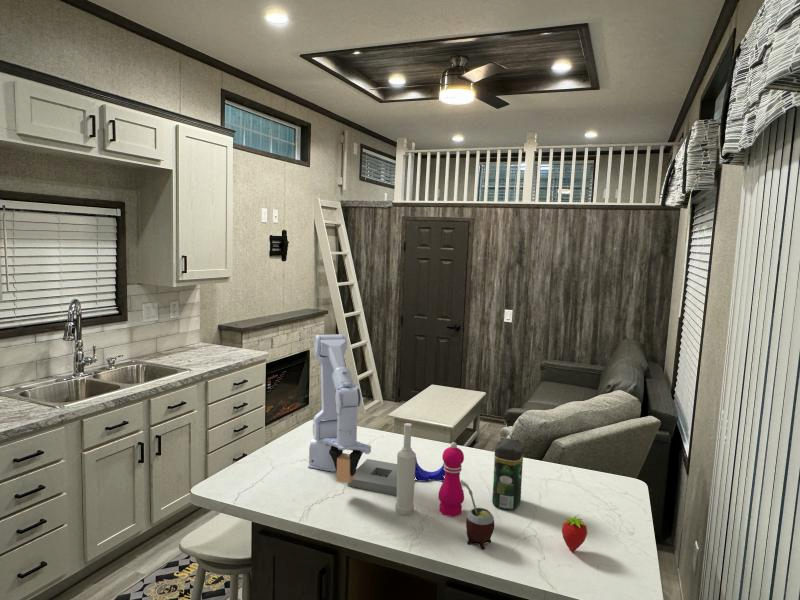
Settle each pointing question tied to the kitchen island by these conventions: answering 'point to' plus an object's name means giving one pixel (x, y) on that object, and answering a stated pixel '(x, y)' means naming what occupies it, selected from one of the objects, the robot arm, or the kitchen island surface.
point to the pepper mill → (451, 482)
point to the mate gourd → (479, 524)
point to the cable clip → (429, 473)
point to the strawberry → (574, 533)
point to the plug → (344, 469)
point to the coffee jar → (507, 474)
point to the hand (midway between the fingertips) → (345, 473)
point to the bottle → (405, 475)
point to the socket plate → (376, 477)
